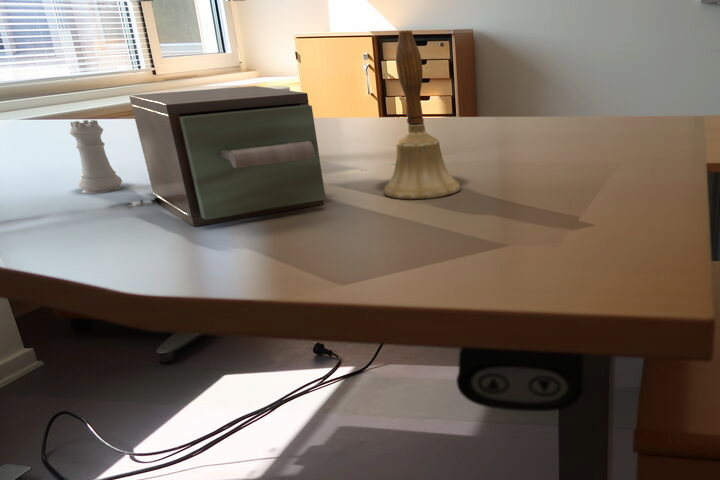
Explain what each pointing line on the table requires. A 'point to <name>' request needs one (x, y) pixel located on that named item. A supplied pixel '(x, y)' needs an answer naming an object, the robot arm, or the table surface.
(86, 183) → the rook chess piece
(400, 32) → the hand bell
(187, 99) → the cabinet
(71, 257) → the table surface
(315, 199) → the drawer
